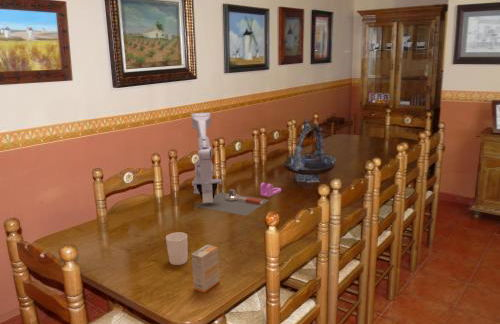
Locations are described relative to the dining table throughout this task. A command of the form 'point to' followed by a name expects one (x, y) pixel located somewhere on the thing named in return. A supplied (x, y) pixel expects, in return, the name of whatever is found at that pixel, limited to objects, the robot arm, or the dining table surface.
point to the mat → (230, 205)
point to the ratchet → (242, 198)
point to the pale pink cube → (207, 196)
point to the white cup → (177, 248)
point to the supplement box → (205, 268)
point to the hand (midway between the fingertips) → (207, 198)
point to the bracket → (268, 190)
